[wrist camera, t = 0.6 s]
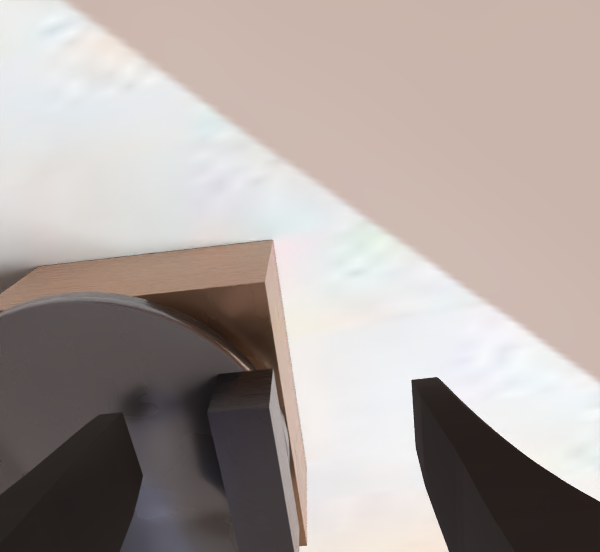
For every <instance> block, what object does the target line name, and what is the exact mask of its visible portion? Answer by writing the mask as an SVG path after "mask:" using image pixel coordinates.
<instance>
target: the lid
mask: <svg viewBox="0 0 600 552" xmlns="http://www.w3.org/2000/svg"><path fill="white" fill-rule="evenodd" d="M118 412H123V415H124V418H125V421H126V424H127V428H128V431H129V434H130V437H131V440H132V443H133V446H134V449H135V452H136V455H137V458H138V461H139V464H140V467H141V470H142V474H143V478H142V483H141V487H140V492H139V496H138V500H137V504H136V508H135V511H134V515H133V518H132V521H131V523H130V526H129V529H128V531H127V534H126V536H125V539H124V542H123V544H122V547H121V549H120V552H299V522H298V516H297V510H296V504H295V498H294V492H293V486H292V480H291V474H290V468H289V456H290V452H289V439H288V432H287V428H286V424H285V420H284V416H283V413H282V411H281V409H280V406H279V401H278V395H277V388H276V382H275V376H274V370H273V369H263V370H257V368H256V367H255V366H254V365H253V363H252V362H251V361H250V360H249V359H248V358H247V357H246V356H245V355H244V354H243V353H242V352H241V351H240V350H239V349H238V348H237V347H236V346H235V345H233V344H232V343H231V342H230V341H228V340H227V339H226V338H224V337H223V336H222V335H220V334H219V333H218V332H216V331H215V330H214V329H212V328H210V327H208V326H207V325H205V324H203V323H202V322H200V321H198V320H196V319H195V318H193V317H191V316H189V315H187V314H184V313H182V312H180V311H177V310H175V309H173V308H171V307H168V306H165V305H162V304H159V303H156V302H152V301H149V300H146V299H143V298H138V297H133V296H127V295H122V294H117V293H103V292H70V293H60V294H55V295H49V296H43V297H38V298H35V299H32V300H29V301H26V302H23V303H20V304H17V305H15V306H12V307H10V308H8V309H6V310H4V311H2V312H0V494H2V493H3V492H4V491H6V490H7V489H8V488H9V487H11V486H12V485H13V484H14V483H16V482H17V481H18V480H20V479H21V478H22V477H23V476H25V475H26V474H27V473H28V472H30V471H31V470H32V469H33V468H34V467H36V466H37V465H38V464H39V463H40V462H42V461H43V460H44V459H45V458H46V457H48V456H49V455H50V454H51V453H52V452H54V451H55V450H56V449H57V448H58V447H59V446H61V445H62V444H63V443H64V442H65V441H67V440H68V439H69V438H70V437H71V436H72V435H74V434H75V433H76V432H77V431H78V430H80V429H81V428H82V427H83V426H85V425H86V424H87V423H88V422H90V421H91V420H92V419H94V418H95V417H96V416H98V415H100V414H109V413H118Z"/></svg>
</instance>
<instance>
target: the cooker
mask: <svg viewBox="0 0 600 552" xmlns="http://www.w3.org/2000/svg"><path fill="white" fill-rule="evenodd" d="M70 292H103V293H117V294H122V295H127V296H133V297H138V298H143V299H146V300H149V301H152V302H156V303H159V304H162V305H165V306H168V307H171V308H173V309H175V310H177V311H180V312H182V313H184V314H187V315H189V316H191V317H193V318H195V319H196V320H198V321H200V322H202V323H203V324H205V325H207V326H208V327H210V328H212V329H214V330H215V331H216V332H218V333H219V334H220V335H222V336H223V337H224V338H226V339H227V340H228V341H230V342H231V343H232V344H233V345H235V346H236V347H237V348H238V349H239V350H240V351H241V352H242V353H243V354H244V355H245V356H246V357H247V358H248V359H249V360H250V361H251V362H252V363H253V365H254V366H255V367H256V368H257V370H263V369H273V370H274V376H275V382H276V388H277V395H278V401H279V406H280V409H281V411H282V413H283V416H284V420H285V424H286V428H287V432H288V439H289V452H290V456H289V468H290V474H291V480H292V486H293V492H294V498H295V504H296V510H297V516H298V522H299V546H307V467H306V460H305V453H304V446H303V440H302V433H301V426H300V419H299V413H298V406H297V399H296V392H295V386H294V379H293V372H292V365H291V358H290V352H289V345H288V338H287V331H286V325H285V318H284V311H283V304H282V298H281V291H280V284H279V277H278V271H277V264H276V257H275V250H274V243H273V240H267V241H258V242H249V243H241V244H232V245H223V246H214V247H205V248H196V249H188V250H179V251H170V252H161V253H152V254H143V255H134V256H126V257H117V258H108V259H99V260H90V261H81V262H73V263H64V264H55V265H46V266H38V267H37V268H36V269H34V270H33V271H31V272H30V273H29V274H27V275H26V276H25V277H23V278H22V279H20V280H19V281H18V282H16V283H15V284H13V285H12V286H11V287H9V288H8V289H6V290H5V291H4V292H2V293H1V294H0V312H2V311H4V310H6V309H8V308H10V307H12V306H15V305H17V304H20V303H23V302H26V301H29V300H32V299H35V298H38V297H43V296H49V295H55V294H60V293H70Z"/></svg>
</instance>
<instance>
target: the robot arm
mask: <svg viewBox="0 0 600 552" xmlns="http://www.w3.org/2000/svg"><path fill="white" fill-rule="evenodd" d="M412 396H413V412H414V428H415V443H416V451H417V455H418V459H419V463H420V467H421V471H422V475H423V479H424V483H425V487H426V490H427V493H428V495H429V498H430V501H431V504H432V506H433V509H434V512H435V515H436V517H437V520H438V523H439V525H440V528H441V531H442V533H443V536H444V539H445V542H446V544H447V547H448V550H449V552H600V502H599V501H598V500H596V499H594V498H592V497H590V496H589V495H587V494H585V493H583V492H581V491H580V490H578V489H576V488H575V487H573V486H571V485H570V484H568V483H566V482H565V481H563V480H561V479H560V478H558V477H557V476H555V475H554V474H552V473H551V472H549V471H548V470H546V469H545V468H543V467H542V466H540V465H539V464H537V463H536V462H534V461H533V460H531V459H530V458H529V457H527V456H526V455H524V454H523V453H522V452H521V451H519V450H518V449H517V448H515V447H514V446H513V445H512V444H510V443H509V442H508V441H506V440H505V439H504V438H503V437H502V436H500V435H499V434H498V433H497V432H495V431H494V430H493V429H492V428H491V427H490V426H489V425H487V424H486V423H485V422H484V421H483V420H482V419H481V418H479V417H478V416H477V415H476V414H475V413H474V412H473V411H472V410H471V409H470V408H469V407H467V406H466V405H465V404H464V403H463V402H462V401H461V400H460V399H459V398H458V397H457V396H456V395H455V394H454V393H453V392H452V391H451V390H450V389H449V388H448V387H447V386H446V385H445V384H444V383H443V382H442V381H441V380H440V379H439V378H437V377H434V378H425V379H416V380H412ZM142 478H143V474H142V470H141V467H140V464H139V461H138V458H137V455H136V452H135V449H134V446H133V443H132V440H131V437H130V434H129V431H128V428H127V424H126V421H125V418H124V415H123V412H118V413H109V414H100V415H98V416H96V417H95V418H94V419H92V420H91V421H90V422H88V423H87V424H86V425H85V426H83V427H82V428H81V429H80V430H78V431H77V432H76V433H75V434H74V435H72V436H71V437H70V438H69V439H68V440H67V441H65V442H64V443H63V444H62V445H61V446H59V447H58V448H57V449H56V450H55V451H54V452H52V453H51V454H50V455H49V456H48V457H46V458H45V459H44V460H43V461H42V462H40V463H39V464H38V465H37V466H36V467H34V468H33V469H32V470H31V471H30V472H28V473H27V474H26V475H25V476H23V477H22V478H21V479H20V480H18V481H17V482H16V483H14V484H13V485H12V486H11V487H9V488H8V489H7V490H6V491H4V492H3V493H2V494H0V552H120V549H121V547H122V544H123V542H124V539H125V536H126V534H127V531H128V529H129V526H130V523H131V521H132V518H133V515H134V511H135V508H136V504H137V500H138V496H139V492H140V487H141V483H142Z"/></svg>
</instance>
